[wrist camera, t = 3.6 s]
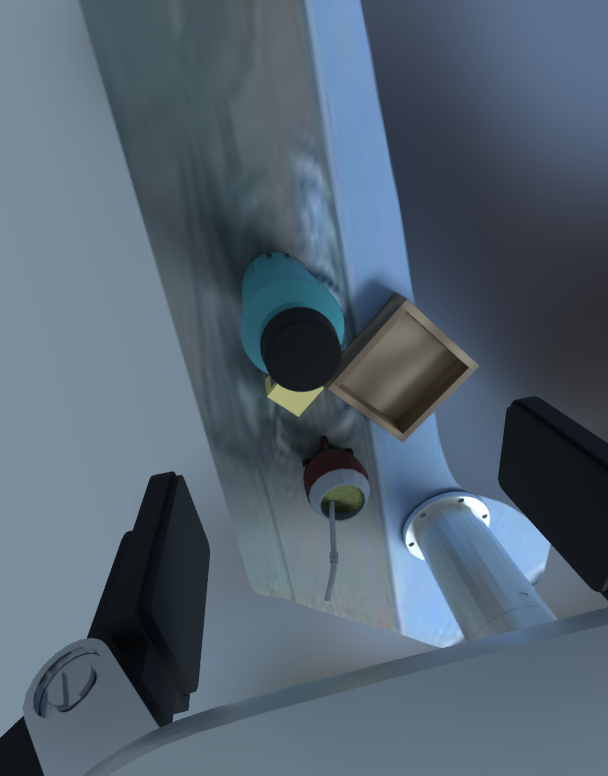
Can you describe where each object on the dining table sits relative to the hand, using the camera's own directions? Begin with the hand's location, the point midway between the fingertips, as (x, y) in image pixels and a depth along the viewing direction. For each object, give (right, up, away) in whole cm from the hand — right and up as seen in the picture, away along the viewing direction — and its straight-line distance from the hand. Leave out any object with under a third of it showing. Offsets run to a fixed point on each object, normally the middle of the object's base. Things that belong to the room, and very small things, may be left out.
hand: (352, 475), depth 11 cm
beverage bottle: (-4, +13, +25) cm, 29 cm away
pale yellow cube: (-3, +4, +30) cm, 30 cm away
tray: (+9, +5, +31) cm, 33 cm away
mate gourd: (+1, -6, +36) cm, 36 cm away
